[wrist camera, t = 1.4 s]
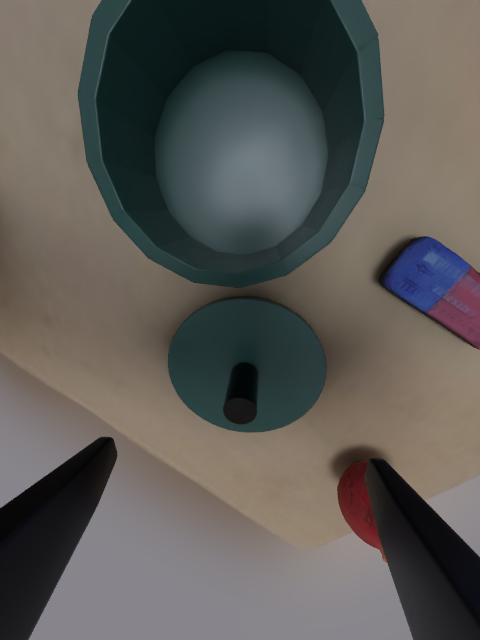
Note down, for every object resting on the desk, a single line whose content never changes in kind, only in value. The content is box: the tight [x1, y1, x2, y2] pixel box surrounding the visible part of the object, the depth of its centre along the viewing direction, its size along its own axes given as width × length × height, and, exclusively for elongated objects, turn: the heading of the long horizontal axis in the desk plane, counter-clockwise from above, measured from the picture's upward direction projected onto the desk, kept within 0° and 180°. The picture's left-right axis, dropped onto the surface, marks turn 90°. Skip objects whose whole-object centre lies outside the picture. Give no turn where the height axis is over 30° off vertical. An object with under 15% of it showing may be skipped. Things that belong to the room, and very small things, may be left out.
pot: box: [78, 0, 384, 288], centre depth 14 cm, size 13×13×6 cm
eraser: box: [379, 237, 480, 349], centre depth 17 cm, size 11×4×2 cm, turn 59°
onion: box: [337, 462, 387, 562], centre depth 22 cm, size 6×6×8 cm
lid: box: [168, 297, 326, 432], centre depth 20 cm, size 14×14×6 cm
